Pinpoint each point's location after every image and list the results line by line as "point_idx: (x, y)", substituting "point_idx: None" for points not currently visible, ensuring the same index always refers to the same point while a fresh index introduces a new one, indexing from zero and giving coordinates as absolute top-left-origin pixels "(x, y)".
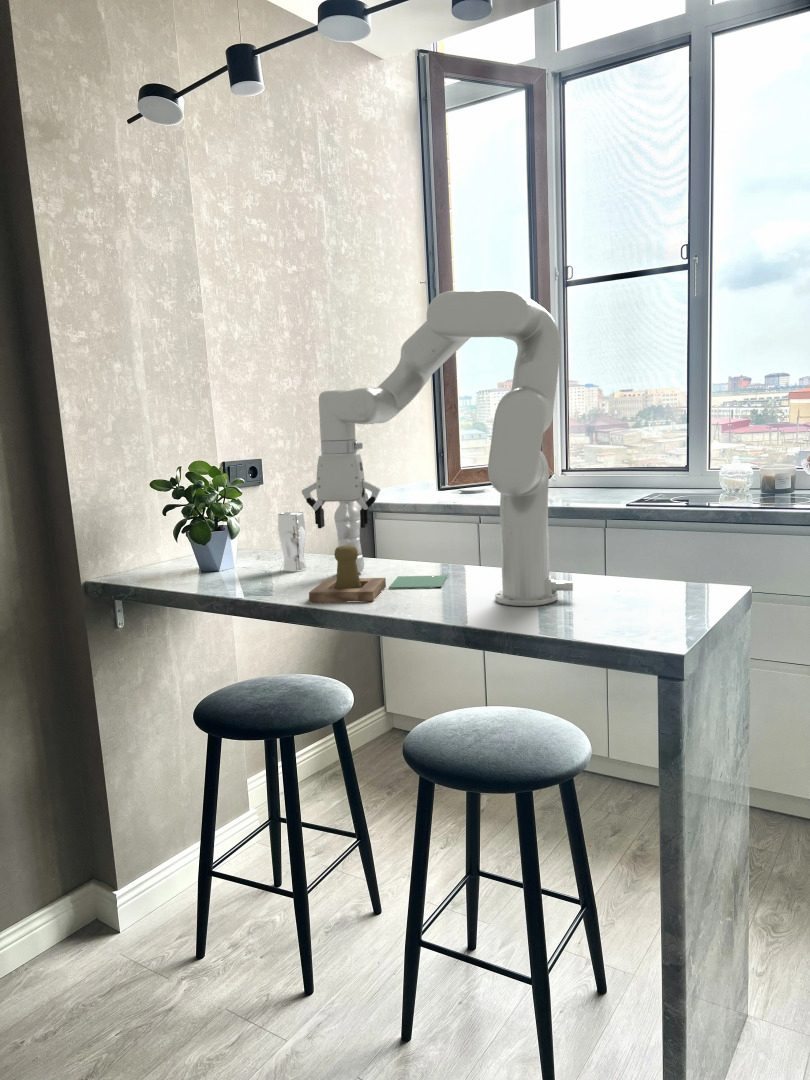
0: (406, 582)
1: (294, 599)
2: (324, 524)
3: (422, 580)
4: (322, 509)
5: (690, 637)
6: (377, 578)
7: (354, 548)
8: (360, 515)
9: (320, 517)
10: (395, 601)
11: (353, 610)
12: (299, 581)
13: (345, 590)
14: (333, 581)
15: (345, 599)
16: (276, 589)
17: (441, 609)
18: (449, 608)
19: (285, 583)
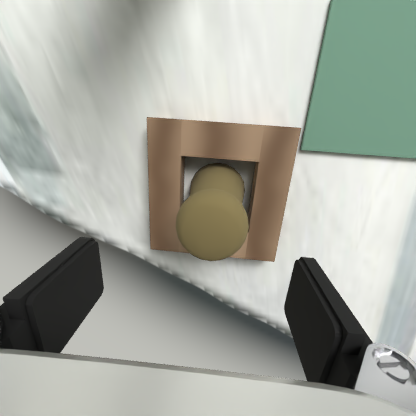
0: (349, 97)
1: (119, 211)
2: (93, 243)
3: (396, 76)
4: (27, 310)
5: None
6: (280, 133)
7: (241, 244)
8: (303, 364)
9: (74, 330)
10: (310, 253)
11: (241, 295)
12: (53, 13)
13: None
14: (173, 153)
15: None
16: (41, 113)
17: (382, 311)
18: (397, 308)
19: (28, 38)
